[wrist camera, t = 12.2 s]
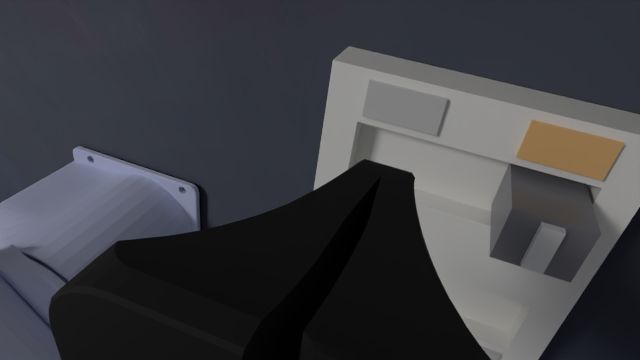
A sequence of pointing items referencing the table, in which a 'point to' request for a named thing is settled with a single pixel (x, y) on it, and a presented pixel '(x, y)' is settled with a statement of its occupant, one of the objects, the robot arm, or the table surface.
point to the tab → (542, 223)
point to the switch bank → (482, 178)
